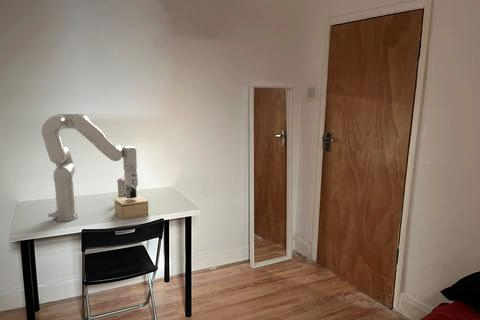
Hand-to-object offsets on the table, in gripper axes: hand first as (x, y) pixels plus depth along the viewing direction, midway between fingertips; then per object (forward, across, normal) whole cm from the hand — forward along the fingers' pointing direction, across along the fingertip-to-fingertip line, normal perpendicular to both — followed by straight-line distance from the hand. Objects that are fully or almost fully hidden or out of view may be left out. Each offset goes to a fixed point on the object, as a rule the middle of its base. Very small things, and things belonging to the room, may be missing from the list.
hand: (131, 195), depth 225 cm
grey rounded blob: (+1, 0, 0) cm, 1 cm away
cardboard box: (+12, 0, 0) cm, 12 cm away
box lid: (+3, 0, 0) cm, 3 cm away
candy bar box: (+12, +26, -6) cm, 29 cm away
